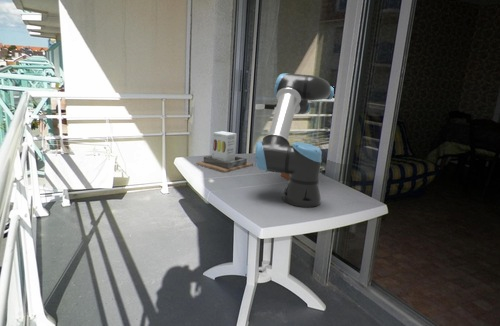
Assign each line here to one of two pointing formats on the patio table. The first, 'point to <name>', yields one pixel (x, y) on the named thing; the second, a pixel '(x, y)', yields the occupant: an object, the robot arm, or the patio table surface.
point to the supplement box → (224, 146)
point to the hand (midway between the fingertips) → (265, 108)
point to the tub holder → (224, 164)
